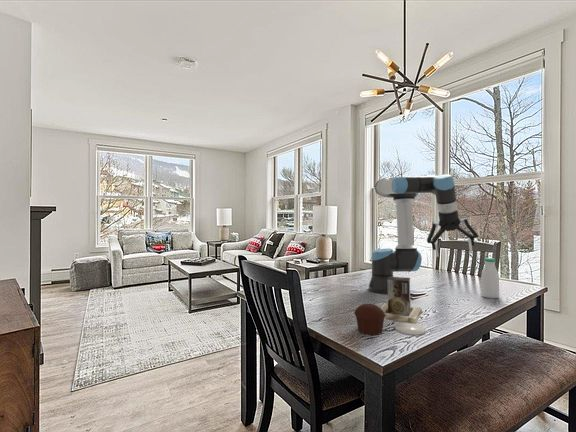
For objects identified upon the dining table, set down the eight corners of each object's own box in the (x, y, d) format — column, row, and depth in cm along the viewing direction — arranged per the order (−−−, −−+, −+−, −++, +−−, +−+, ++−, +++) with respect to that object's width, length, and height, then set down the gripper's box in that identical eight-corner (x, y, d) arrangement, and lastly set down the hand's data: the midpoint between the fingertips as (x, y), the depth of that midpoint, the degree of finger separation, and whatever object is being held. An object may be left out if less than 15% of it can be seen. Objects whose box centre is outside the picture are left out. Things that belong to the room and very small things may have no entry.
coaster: (391, 331, 119) (391, 329, 119) (398, 322, 128) (398, 320, 128) (423, 337, 113) (423, 335, 113) (427, 327, 122) (427, 325, 122)
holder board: (376, 317, 134) (375, 312, 134) (385, 307, 148) (385, 302, 148) (415, 323, 126) (415, 318, 126) (421, 312, 140) (421, 307, 140)
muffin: (390, 330, 120) (390, 304, 120) (377, 339, 112) (377, 311, 111) (362, 323, 128) (362, 298, 127) (348, 331, 119) (348, 305, 119)
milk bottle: (501, 299, 158) (501, 259, 158) (484, 298, 160) (484, 259, 159) (494, 294, 166) (494, 257, 165) (478, 294, 167) (478, 257, 167)
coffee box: (410, 313, 138) (410, 277, 138) (409, 318, 132) (409, 280, 132) (389, 311, 142) (389, 275, 142) (387, 315, 136) (387, 278, 136)
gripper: (417, 218, 136) (424, 260, 143) (482, 208, 127) (488, 254, 133) (416, 212, 143) (423, 252, 149) (478, 202, 134) (483, 246, 140)
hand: (454, 253), depth 141 cm, fingers open, 13 cm apart
